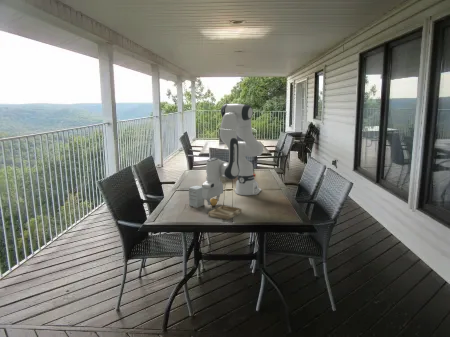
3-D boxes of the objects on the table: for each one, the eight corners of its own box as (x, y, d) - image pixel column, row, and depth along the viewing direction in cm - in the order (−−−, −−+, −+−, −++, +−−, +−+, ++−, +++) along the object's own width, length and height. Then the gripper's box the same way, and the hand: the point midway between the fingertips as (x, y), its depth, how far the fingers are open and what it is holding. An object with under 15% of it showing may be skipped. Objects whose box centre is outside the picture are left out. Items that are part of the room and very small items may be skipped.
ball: (212, 204, 236) (212, 197, 235) (218, 205, 233) (218, 198, 232) (208, 206, 232) (208, 198, 231) (214, 207, 229) (214, 199, 228)
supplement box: (196, 203, 239) (196, 185, 236) (204, 205, 234) (204, 186, 232) (188, 205, 233) (188, 187, 231) (196, 207, 229) (196, 189, 226)
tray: (222, 209, 225) (222, 205, 225) (241, 212, 218) (241, 208, 218) (208, 216, 212) (208, 212, 212) (228, 219, 205) (228, 215, 204)
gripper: (217, 179, 240) (217, 198, 243) (200, 185, 223) (200, 206, 225) (225, 180, 237) (225, 199, 239) (208, 186, 220) (208, 207, 222)
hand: (213, 202), depth 232 cm, fingers open, 8 cm apart
